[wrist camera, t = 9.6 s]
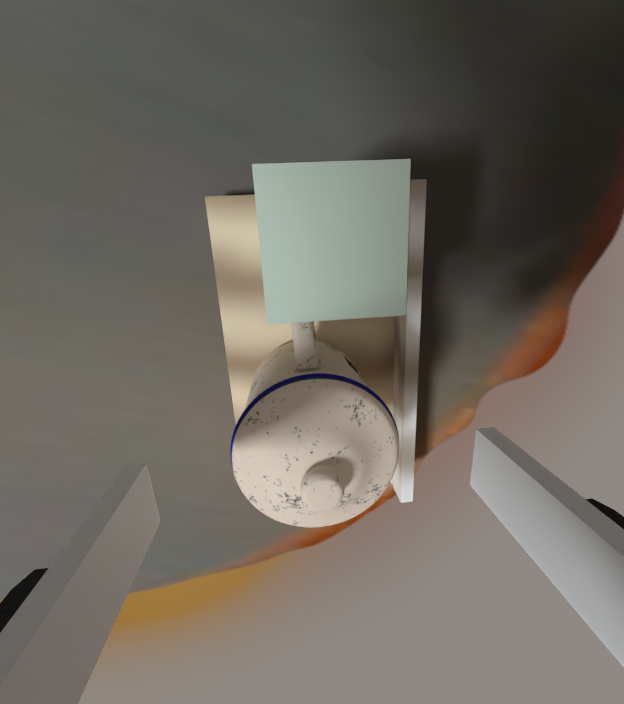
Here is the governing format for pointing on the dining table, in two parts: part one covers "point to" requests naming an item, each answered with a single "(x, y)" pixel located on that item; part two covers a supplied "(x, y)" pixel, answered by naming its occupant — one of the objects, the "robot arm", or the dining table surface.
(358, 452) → the teacup with lid
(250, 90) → the dining table surface
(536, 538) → the robot arm
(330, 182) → the tin
